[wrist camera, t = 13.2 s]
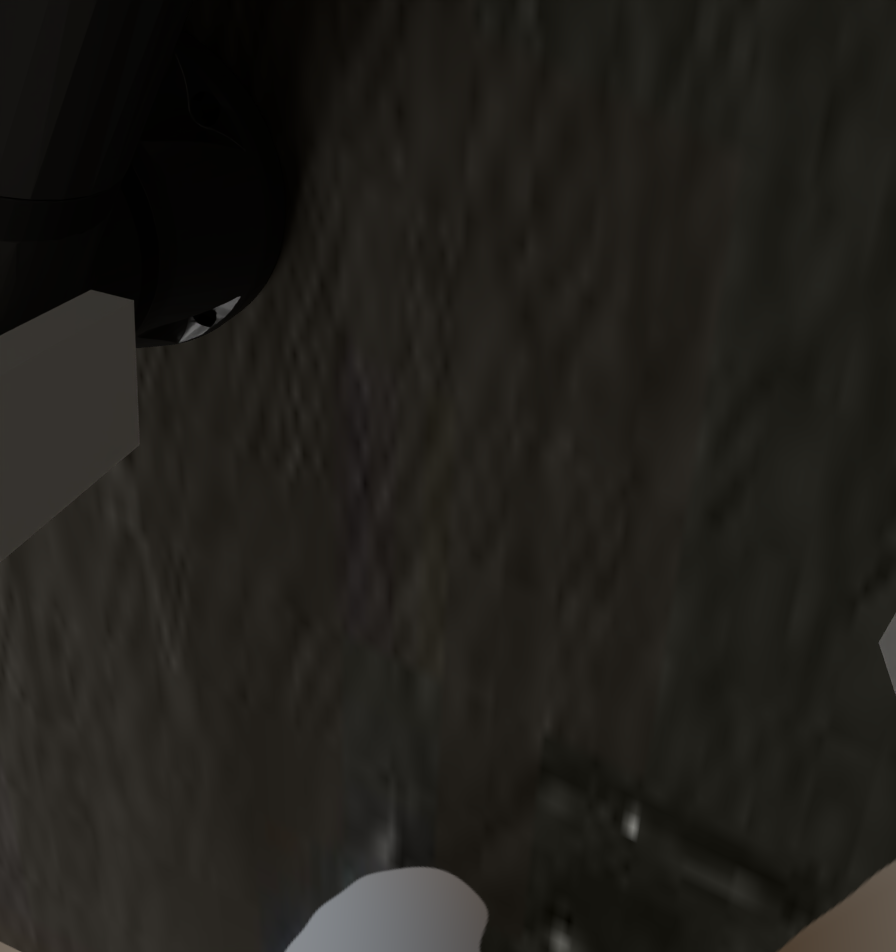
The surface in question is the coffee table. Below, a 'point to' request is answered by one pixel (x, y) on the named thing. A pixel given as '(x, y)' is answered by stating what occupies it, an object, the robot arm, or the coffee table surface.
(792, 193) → the coffee table surface
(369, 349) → the coffee table surface
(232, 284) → the robot arm
